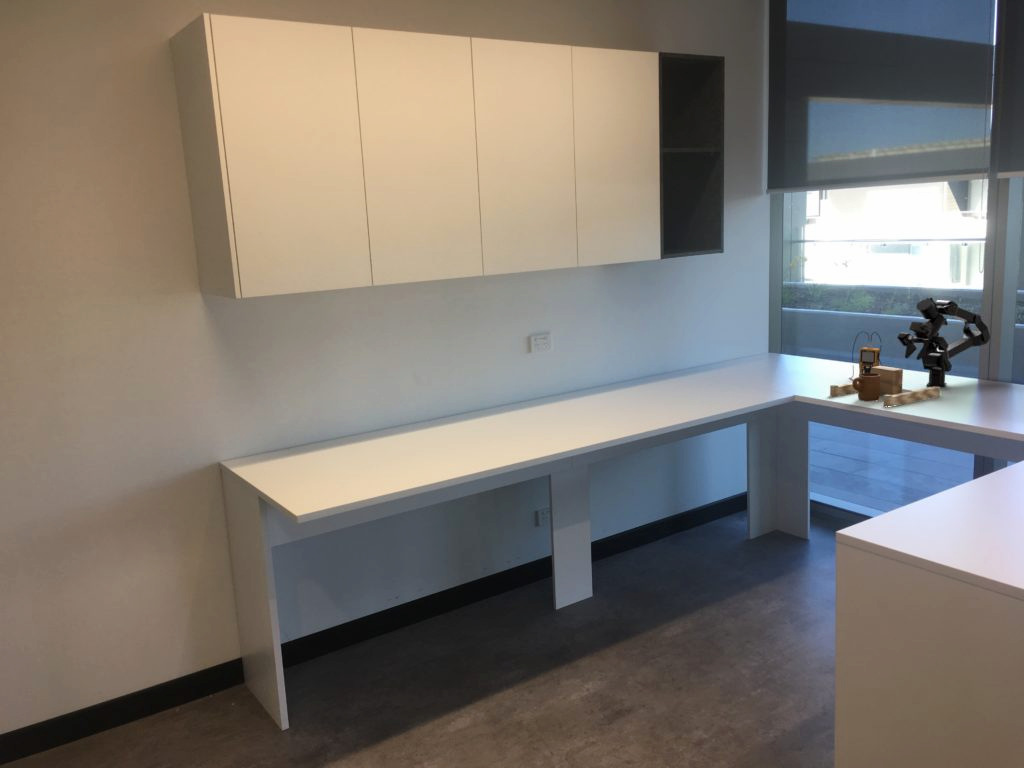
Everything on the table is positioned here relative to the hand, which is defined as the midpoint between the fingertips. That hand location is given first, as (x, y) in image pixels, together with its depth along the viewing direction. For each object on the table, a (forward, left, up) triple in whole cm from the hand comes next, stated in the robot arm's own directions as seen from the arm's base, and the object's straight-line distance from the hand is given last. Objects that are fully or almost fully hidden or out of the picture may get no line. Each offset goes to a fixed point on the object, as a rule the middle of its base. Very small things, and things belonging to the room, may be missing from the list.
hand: (911, 358), depth 317 cm
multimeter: (-15, -19, -13) cm, 28 cm away
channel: (+13, -7, -13) cm, 19 cm away
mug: (+22, -13, -13) cm, 28 cm away
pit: (+4, -2, -13) cm, 13 cm away
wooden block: (+12, -7, -13) cm, 19 cm away
